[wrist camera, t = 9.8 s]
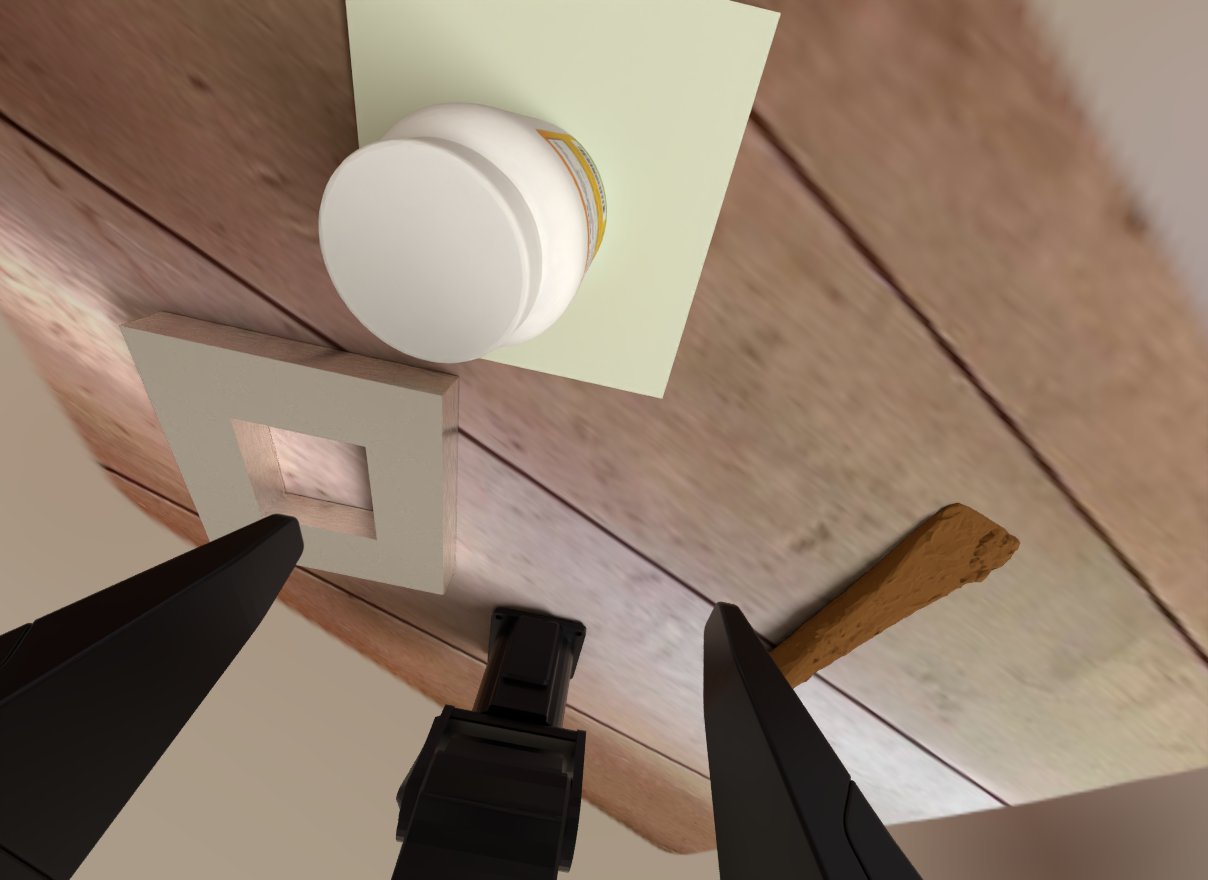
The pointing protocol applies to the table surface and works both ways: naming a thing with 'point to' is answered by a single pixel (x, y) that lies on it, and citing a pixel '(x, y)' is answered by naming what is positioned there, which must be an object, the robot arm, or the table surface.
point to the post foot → (314, 407)
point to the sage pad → (591, 140)
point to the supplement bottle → (462, 230)
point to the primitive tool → (898, 588)
